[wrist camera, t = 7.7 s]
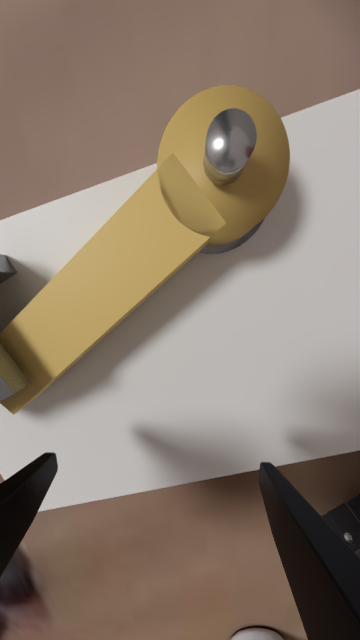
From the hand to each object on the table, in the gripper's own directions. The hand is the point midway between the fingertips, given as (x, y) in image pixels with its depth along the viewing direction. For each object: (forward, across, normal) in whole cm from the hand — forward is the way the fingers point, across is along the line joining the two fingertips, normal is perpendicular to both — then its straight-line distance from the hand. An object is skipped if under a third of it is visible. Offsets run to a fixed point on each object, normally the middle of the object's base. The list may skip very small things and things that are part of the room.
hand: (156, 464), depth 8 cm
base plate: (+4, +1, -4) cm, 5 cm away
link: (+3, +2, -8) cm, 9 cm away
